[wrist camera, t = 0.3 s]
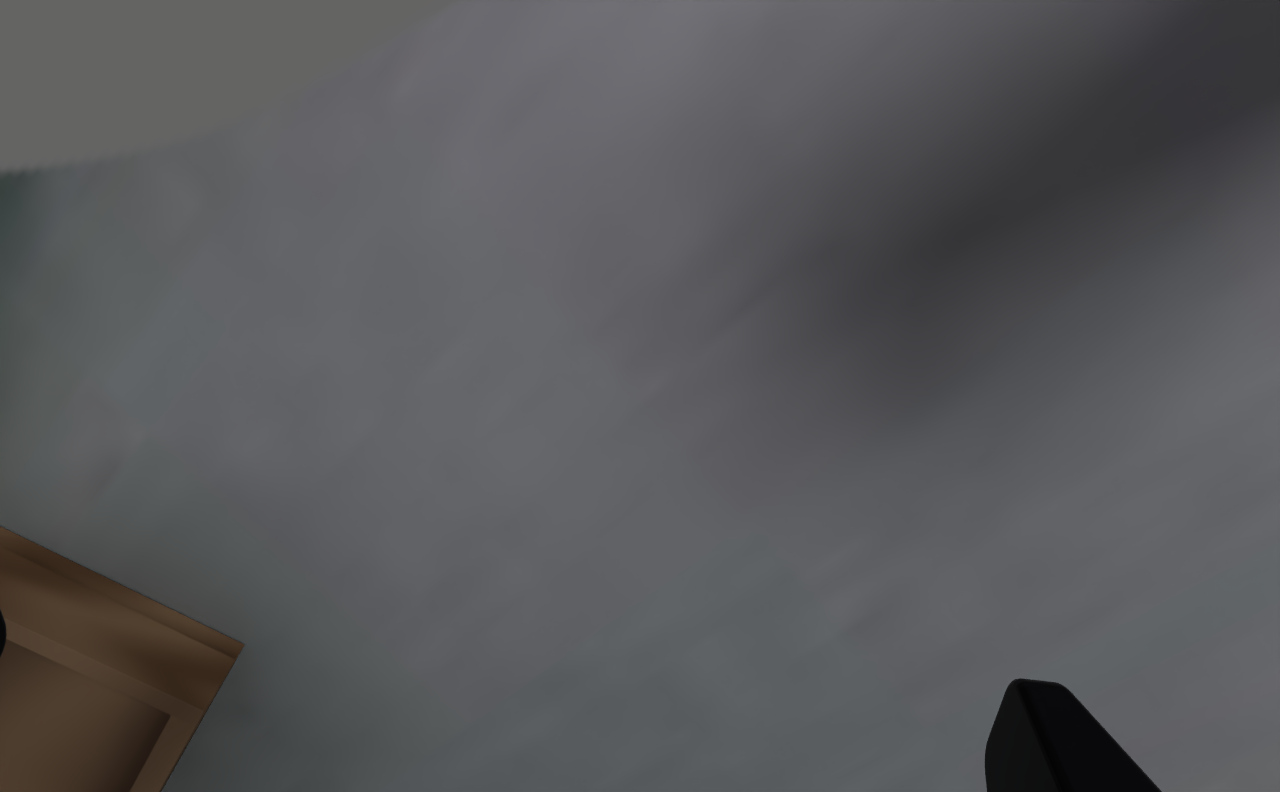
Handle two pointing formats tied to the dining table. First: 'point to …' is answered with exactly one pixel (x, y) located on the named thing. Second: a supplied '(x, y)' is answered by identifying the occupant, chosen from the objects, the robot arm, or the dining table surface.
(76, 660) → the walnut tray
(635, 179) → the dining table surface
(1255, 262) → the dining table surface
